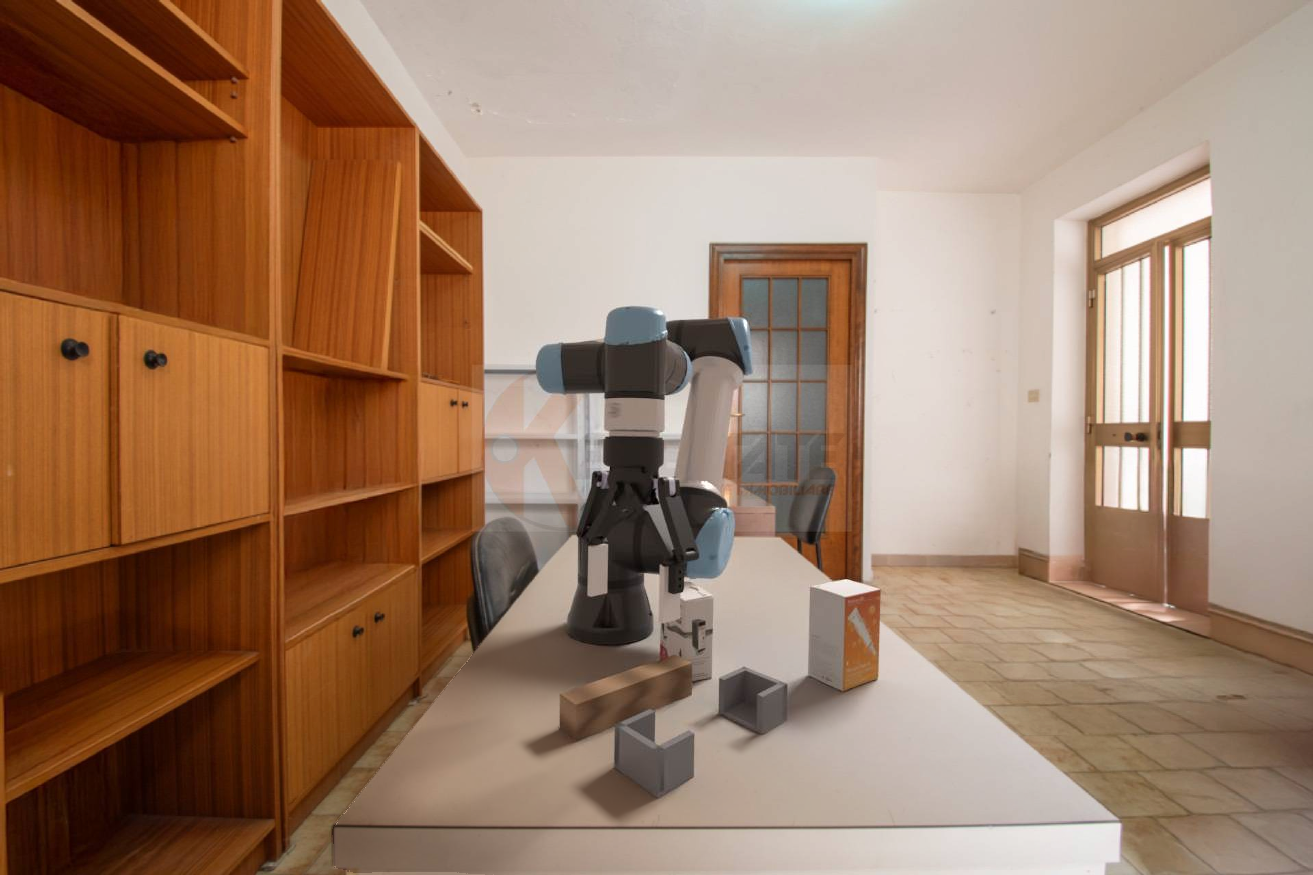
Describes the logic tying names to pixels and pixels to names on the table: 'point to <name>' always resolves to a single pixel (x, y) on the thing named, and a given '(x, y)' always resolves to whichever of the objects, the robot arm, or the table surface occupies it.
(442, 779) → the table surface
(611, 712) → the slat
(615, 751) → the endcap
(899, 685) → the table surface
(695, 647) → the ink box
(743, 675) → the endcap
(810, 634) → the small box
